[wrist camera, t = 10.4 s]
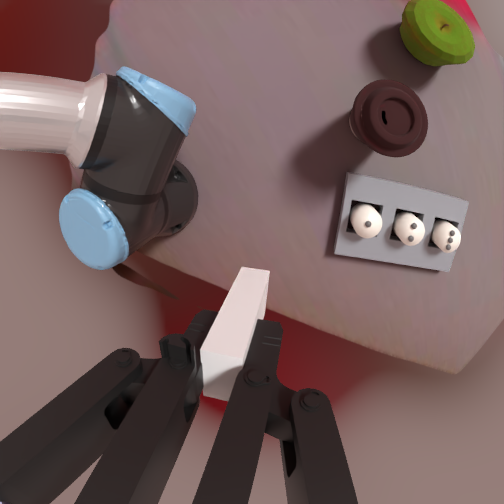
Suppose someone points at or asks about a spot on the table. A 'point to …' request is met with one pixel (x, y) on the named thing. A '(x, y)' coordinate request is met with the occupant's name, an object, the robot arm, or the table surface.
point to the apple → (436, 33)
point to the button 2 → (408, 228)
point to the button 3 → (445, 236)
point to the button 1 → (365, 220)
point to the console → (388, 200)
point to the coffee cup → (389, 118)
